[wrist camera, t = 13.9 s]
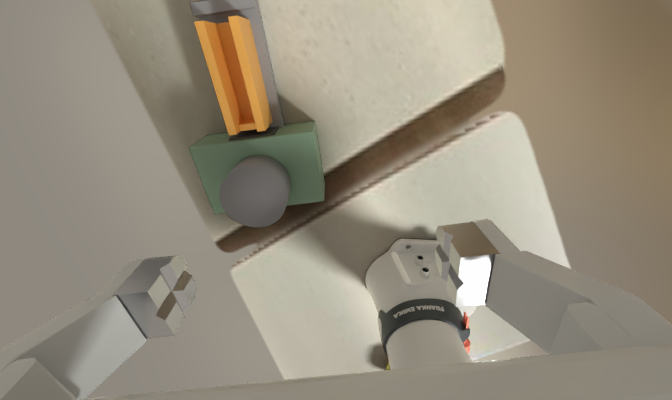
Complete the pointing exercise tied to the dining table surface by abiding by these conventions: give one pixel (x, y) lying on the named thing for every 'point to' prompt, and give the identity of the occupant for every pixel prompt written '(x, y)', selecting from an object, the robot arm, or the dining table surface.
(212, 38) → the chute
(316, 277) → the dining table surface
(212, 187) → the green coffee machine
